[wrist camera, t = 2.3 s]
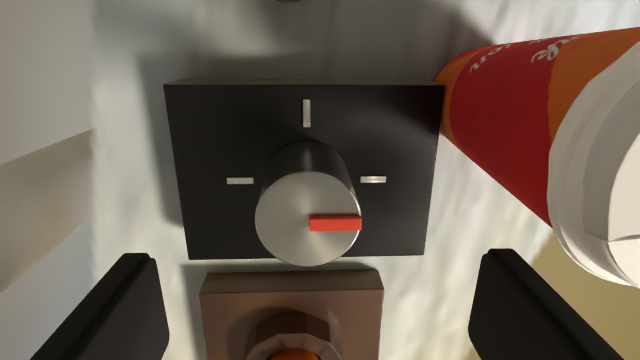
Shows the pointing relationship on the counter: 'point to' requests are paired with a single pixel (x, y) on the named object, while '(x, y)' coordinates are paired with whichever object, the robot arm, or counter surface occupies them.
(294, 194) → the knob
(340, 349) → the button block
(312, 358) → the button
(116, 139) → the counter surface
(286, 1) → the cork
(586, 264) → the paper cup
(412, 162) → the panel
